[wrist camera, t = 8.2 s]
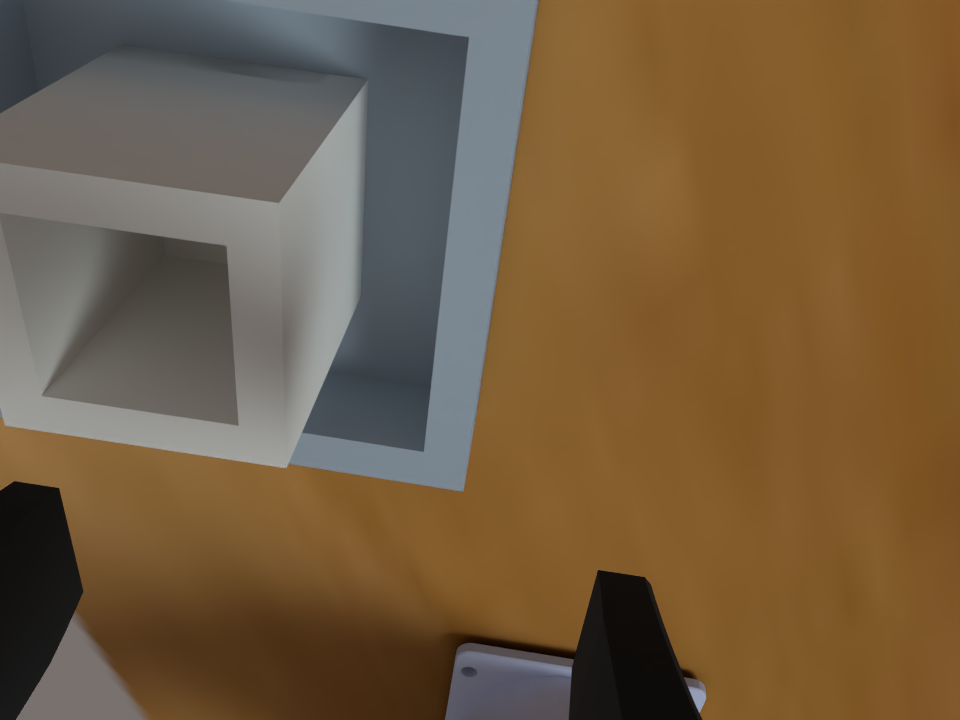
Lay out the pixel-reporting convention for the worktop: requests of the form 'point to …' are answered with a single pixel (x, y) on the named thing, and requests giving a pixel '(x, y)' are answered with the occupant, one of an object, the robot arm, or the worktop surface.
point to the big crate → (388, 188)
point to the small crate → (179, 251)
